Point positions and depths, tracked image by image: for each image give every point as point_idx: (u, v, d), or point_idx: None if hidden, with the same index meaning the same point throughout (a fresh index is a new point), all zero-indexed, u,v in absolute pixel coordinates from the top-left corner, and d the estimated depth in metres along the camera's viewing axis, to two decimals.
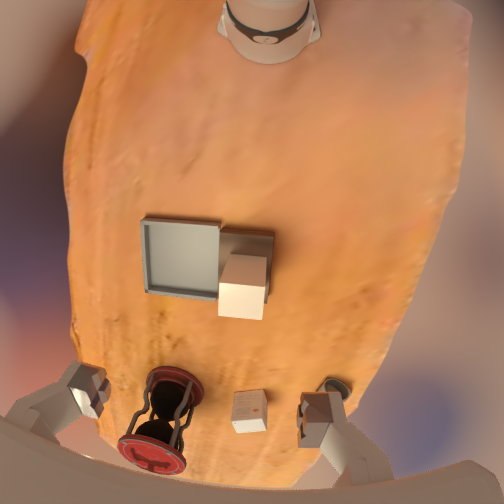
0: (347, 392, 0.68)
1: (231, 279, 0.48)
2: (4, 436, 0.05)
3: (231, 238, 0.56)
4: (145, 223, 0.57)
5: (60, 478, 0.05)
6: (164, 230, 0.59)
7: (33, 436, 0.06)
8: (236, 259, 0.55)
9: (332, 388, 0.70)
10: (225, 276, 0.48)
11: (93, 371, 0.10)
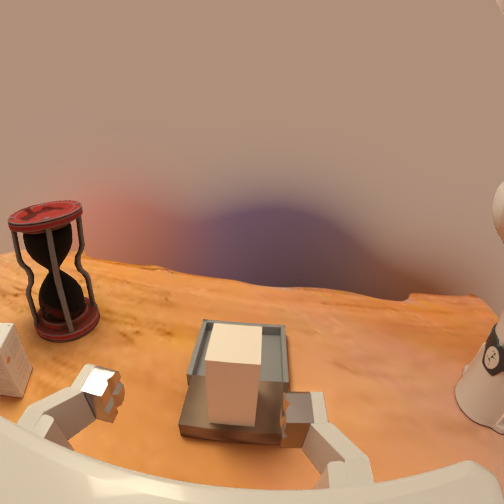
0: None
1: None
2: (4, 436, 0.05)
3: (276, 392, 0.41)
4: (282, 328, 0.57)
5: (60, 478, 0.05)
6: (272, 346, 0.55)
7: (33, 436, 0.06)
8: None
9: None
10: None
11: (108, 375, 0.10)
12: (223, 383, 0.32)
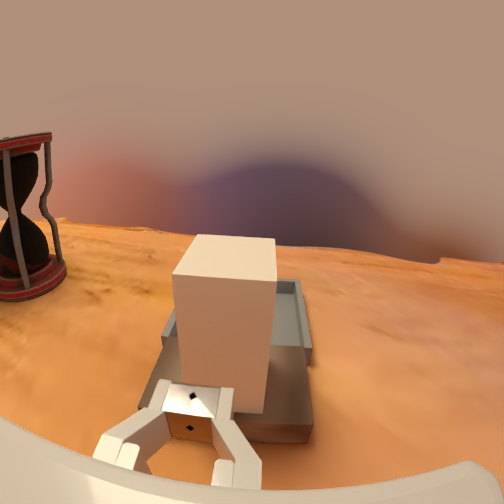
0: None
1: None
2: (4, 436, 0.05)
3: (296, 360, 0.28)
4: (297, 282, 0.44)
5: (60, 478, 0.05)
6: (284, 306, 0.41)
7: (33, 436, 0.06)
8: None
9: None
10: None
11: (188, 390, 0.10)
12: (207, 326, 0.18)
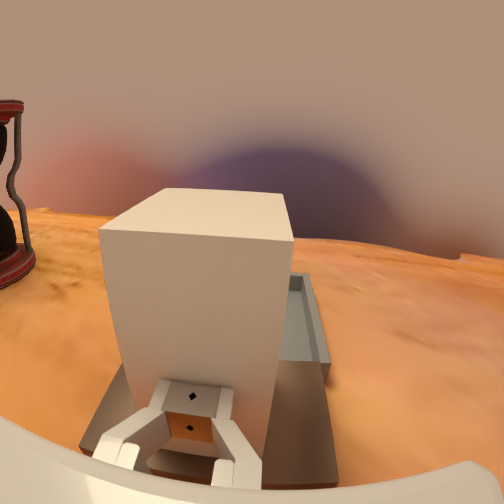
0: None
1: None
2: (4, 436, 0.05)
3: (309, 382, 0.19)
4: (305, 277, 0.35)
5: (60, 478, 0.05)
6: (289, 306, 0.33)
7: (33, 436, 0.06)
8: None
9: None
10: None
11: (188, 390, 0.10)
12: (163, 329, 0.10)
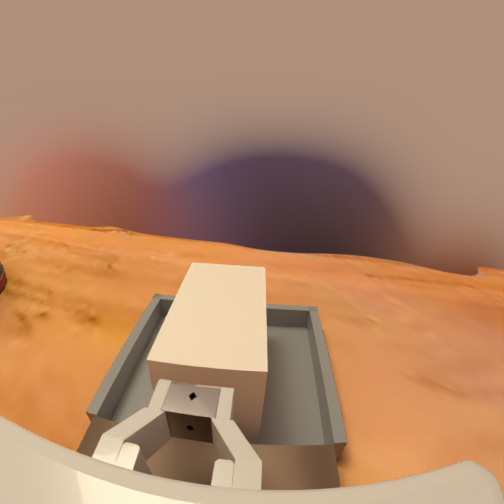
0: None
1: None
2: (4, 436, 0.05)
3: (320, 477, 0.12)
4: (312, 312, 0.28)
5: (60, 478, 0.05)
6: (293, 350, 0.26)
7: (33, 436, 0.06)
8: None
9: None
10: None
11: (188, 390, 0.10)
12: (209, 284, 0.22)
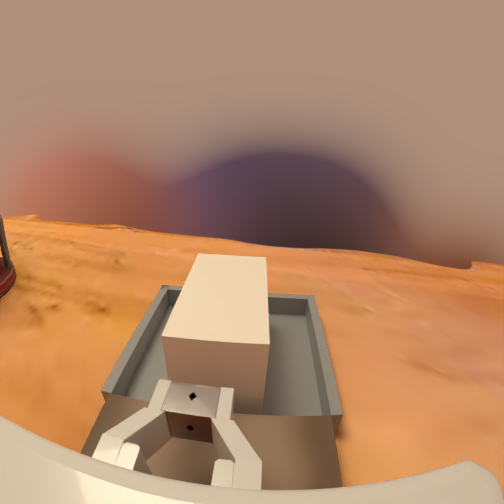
0: None
1: None
2: (4, 436, 0.05)
3: (319, 444, 0.14)
4: (310, 300, 0.30)
5: (60, 478, 0.05)
6: (292, 335, 0.28)
7: (33, 436, 0.06)
8: None
9: None
10: None
11: (188, 389, 0.10)
12: (215, 271, 0.24)
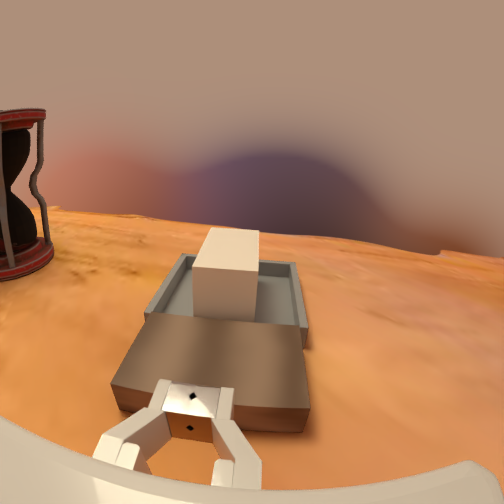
0: None
1: None
2: (4, 436, 0.05)
3: (290, 339, 0.25)
4: (292, 265, 0.41)
5: (60, 478, 0.05)
6: (278, 288, 0.39)
7: (33, 436, 0.06)
8: None
9: None
10: None
11: (188, 389, 0.10)
12: (223, 237, 0.35)
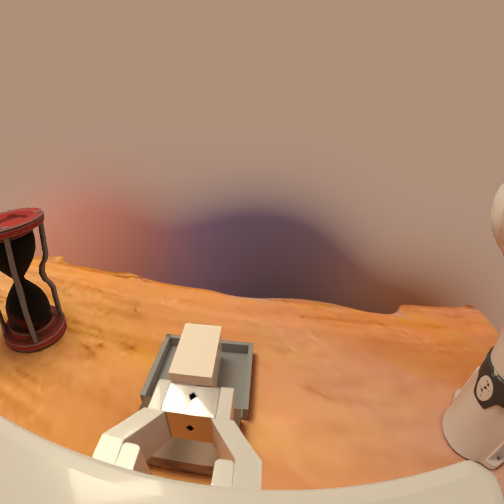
0: None
1: (220, 355, 0.50)
2: (4, 436, 0.05)
3: None
4: (250, 346, 0.52)
5: (60, 478, 0.05)
6: (238, 366, 0.50)
7: (33, 436, 0.06)
8: None
9: None
10: (220, 362, 0.49)
11: (188, 390, 0.10)
12: (193, 336, 0.46)
